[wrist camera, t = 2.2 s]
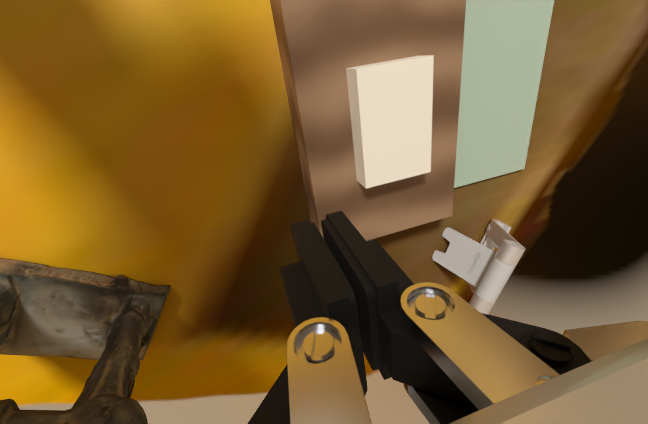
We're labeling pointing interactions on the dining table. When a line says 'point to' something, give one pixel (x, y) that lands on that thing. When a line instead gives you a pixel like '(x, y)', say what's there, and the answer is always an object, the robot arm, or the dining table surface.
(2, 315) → the statue
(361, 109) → the cream rectangular block
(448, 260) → the portable electronic device stand
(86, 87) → the dining table surface
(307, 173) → the deck
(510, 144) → the mat
